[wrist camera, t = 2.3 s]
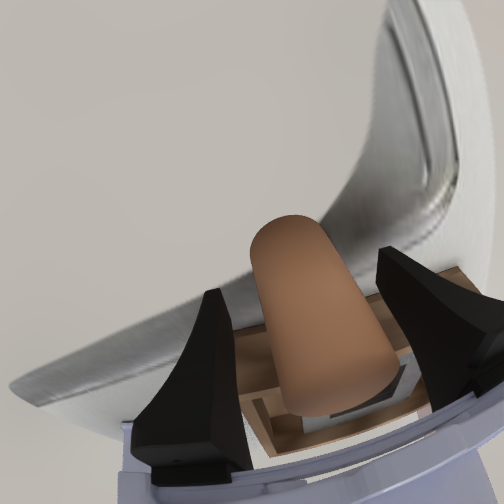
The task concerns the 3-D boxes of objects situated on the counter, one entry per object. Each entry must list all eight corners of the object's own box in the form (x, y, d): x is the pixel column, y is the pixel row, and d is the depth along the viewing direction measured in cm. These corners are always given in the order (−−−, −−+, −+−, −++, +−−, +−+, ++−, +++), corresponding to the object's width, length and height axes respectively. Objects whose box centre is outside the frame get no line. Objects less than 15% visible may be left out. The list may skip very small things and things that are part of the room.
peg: (257, 288, 16) (289, 425, 10) (242, 225, 14) (277, 376, 8) (327, 271, 16) (388, 395, 10) (324, 207, 14) (411, 335, 8)
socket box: (261, 417, 26) (269, 457, 22) (225, 332, 18) (233, 396, 14) (419, 368, 26) (436, 401, 23) (457, 266, 18) (492, 307, 14)
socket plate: (297, 406, 25) (304, 434, 22) (287, 346, 19) (297, 383, 16) (397, 374, 25) (408, 398, 22) (420, 305, 19) (440, 334, 16)
